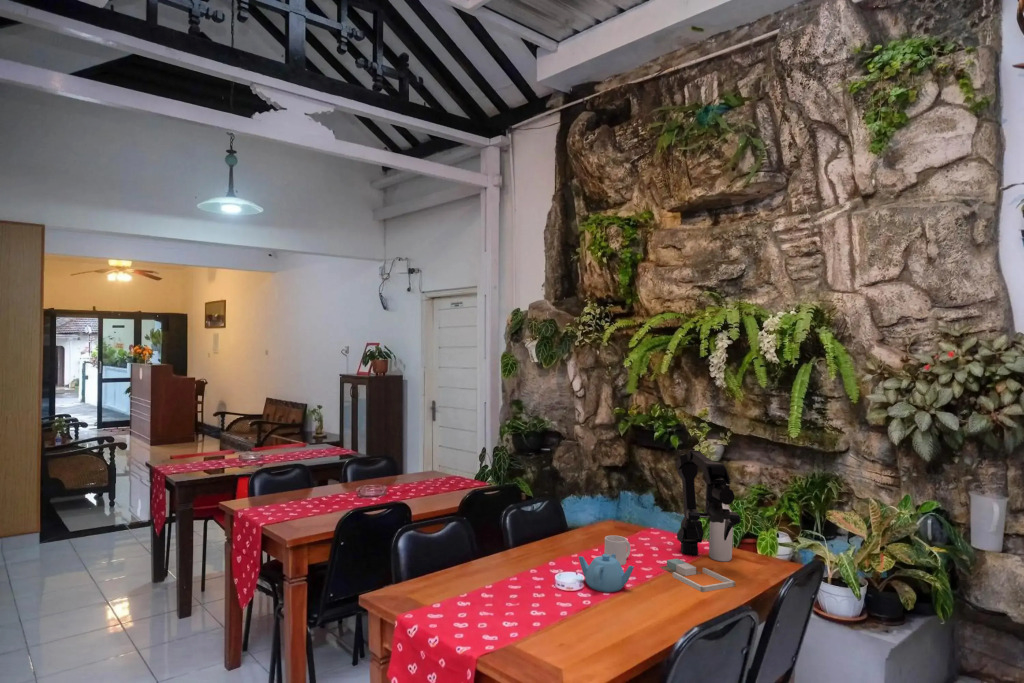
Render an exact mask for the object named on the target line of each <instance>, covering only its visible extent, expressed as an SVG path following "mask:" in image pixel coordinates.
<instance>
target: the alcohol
mask: <svg viewBox="0 0 1024 683" xmlns="http://www.w3.org/2000/svg"><path fill="white" fill-rule="evenodd" d="M726 485H728V484H726ZM722 507H723V509H729V510H730V512H733V511H732V510H731V508H730V507H729V504H728V505H725V504H723V503H722ZM724 529H725V519H724V522H723V523H720V522H715V523H713V522H711V521H710V520H709V541H708V542H709V544H708V545H709V546H708V556H709V558H710V559H711V560H713V561H717V562H721V563H723V562H725V563H726V562H730V561H731V560H732V559H733V532H734V526H733V527H732V528H731V530H730V532H729V534H728V536H727V539H726V540H724Z"/></svg>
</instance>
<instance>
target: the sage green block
mask: <svg viewBox="0 0 1024 683" xmlns="http://www.w3.org/2000/svg"><path fill="white" fill-rule="evenodd" d="M683 563H687V562H685V561H684V560H681V559H679V558H672V559H666V566H667V567H668V568H670V569H672V570H674V571H676V565H677V564H683Z"/></svg>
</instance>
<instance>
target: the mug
mask: <svg viewBox="0 0 1024 683" xmlns="http://www.w3.org/2000/svg"><path fill="white" fill-rule="evenodd" d="M603 554H608V555H610V557H611V554H616V559H617V560H618V562H619V563H620V565H621V566H624V565H626V564H627V559H628V557H629V556H630V554H631V543H630V542H629V541H628V539H627V538H626V537H624V536H622V535H621V536H620V535H606V536H605V537H604V553H603Z"/></svg>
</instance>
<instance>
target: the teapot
mask: <svg viewBox="0 0 1024 683" xmlns="http://www.w3.org/2000/svg"><path fill="white" fill-rule="evenodd" d="M584 557H585V556H582V555H581V556H578V561H579V564H580V567H581V570H582V573H583V577H584V581H585V583H586V584H587V586H589V588H590V589H592V590H595V591H598V592H602V593H615V592H618V591H620V590H622V589H623V588H624V587H625V585H626V584H627V583H628V581H629V579H630V577H631V575H632V573H633V571H634V569H635V566H633V565H628V568H626V570H625V571H624V569H623V567H622V565H620V563H619V562H618V560H617V559H616V554H611V557H610V555H608V554H604V553H603V554H601V555H600V556H599V555H598V556H596V557H594V558H593V559H592V561H591V562H590V564H588V562H587V561H586V559H585V558H584Z"/></svg>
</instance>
